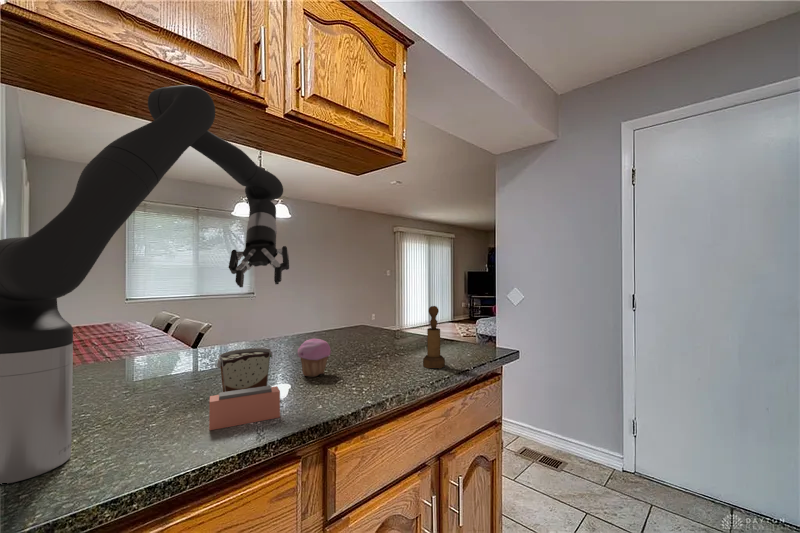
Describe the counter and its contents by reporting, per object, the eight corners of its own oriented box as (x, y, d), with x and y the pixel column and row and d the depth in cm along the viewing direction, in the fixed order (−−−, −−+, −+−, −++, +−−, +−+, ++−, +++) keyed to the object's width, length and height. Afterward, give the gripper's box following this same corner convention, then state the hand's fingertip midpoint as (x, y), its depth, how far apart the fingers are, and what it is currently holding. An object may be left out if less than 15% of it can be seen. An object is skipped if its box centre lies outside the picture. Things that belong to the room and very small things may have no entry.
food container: (259, 385, 87) (259, 345, 87) (272, 390, 83) (272, 348, 83) (206, 399, 78) (207, 354, 78) (218, 406, 74) (219, 358, 74)
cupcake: (313, 369, 102) (313, 335, 102) (337, 372, 98) (337, 337, 98) (291, 377, 94) (291, 340, 95) (315, 381, 90) (315, 342, 91)
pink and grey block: (209, 430, 62) (209, 398, 62) (209, 423, 65) (209, 392, 65) (279, 417, 67) (280, 388, 68) (277, 411, 70) (277, 383, 71)
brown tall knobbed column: (438, 370, 100) (438, 307, 101) (419, 367, 104) (418, 306, 104) (448, 365, 106) (447, 305, 106) (429, 362, 109) (429, 304, 110)
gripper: (229, 226, 90) (223, 279, 82) (286, 222, 93) (285, 273, 84) (237, 243, 97) (232, 294, 88) (290, 239, 99) (290, 289, 91)
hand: (258, 284), depth 86 cm, fingers open, 8 cm apart
